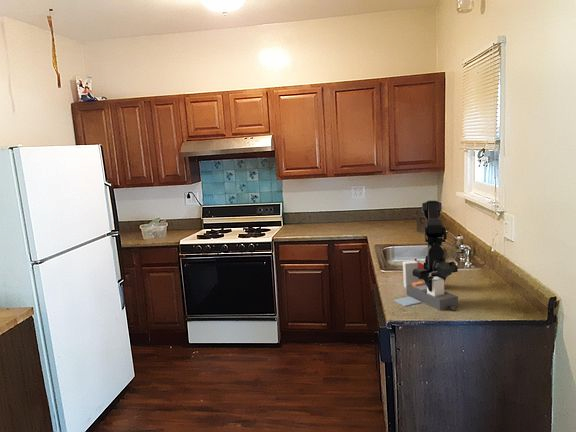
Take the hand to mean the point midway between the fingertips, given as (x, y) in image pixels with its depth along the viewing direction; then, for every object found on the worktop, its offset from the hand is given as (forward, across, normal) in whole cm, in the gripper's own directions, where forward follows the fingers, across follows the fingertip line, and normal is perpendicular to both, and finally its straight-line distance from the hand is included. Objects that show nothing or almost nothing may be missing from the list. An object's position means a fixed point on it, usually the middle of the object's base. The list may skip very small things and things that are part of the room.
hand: (435, 290), depth 184 cm
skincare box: (+6, +4, +22) cm, 23 cm away
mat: (+5, -10, +6) cm, 13 cm away
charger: (+2, 0, 0) cm, 2 cm away
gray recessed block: (+5, 0, +1) cm, 5 cm away
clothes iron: (+6, +88, +123) cm, 152 cm away
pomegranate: (+6, +16, +34) cm, 38 cm away
